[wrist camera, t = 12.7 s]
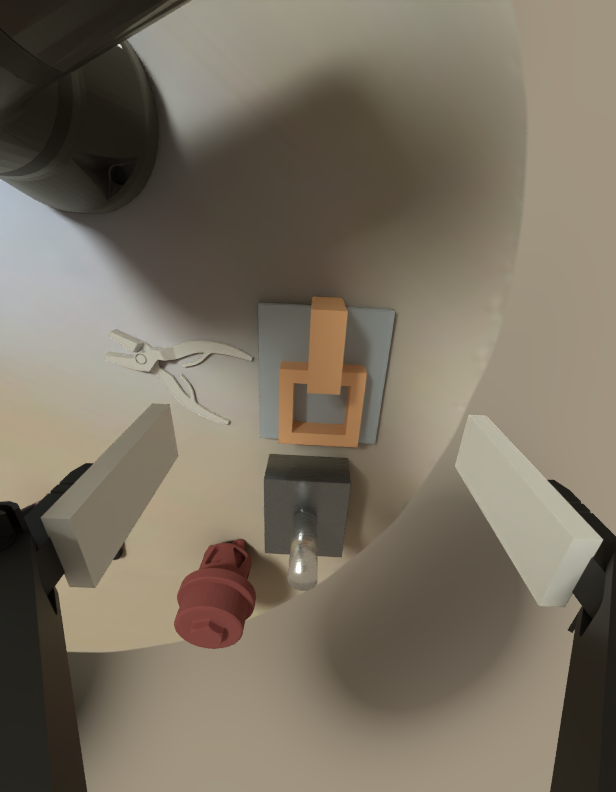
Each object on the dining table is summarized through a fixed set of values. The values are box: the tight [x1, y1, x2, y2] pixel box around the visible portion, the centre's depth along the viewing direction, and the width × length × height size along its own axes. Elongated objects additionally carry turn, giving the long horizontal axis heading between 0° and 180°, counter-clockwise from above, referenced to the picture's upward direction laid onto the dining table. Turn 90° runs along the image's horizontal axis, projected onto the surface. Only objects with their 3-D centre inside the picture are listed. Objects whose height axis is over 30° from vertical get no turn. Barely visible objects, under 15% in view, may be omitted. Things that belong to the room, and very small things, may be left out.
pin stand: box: [264, 454, 351, 591], centre depth 40 cm, size 12×10×13 cm
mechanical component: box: [174, 539, 256, 649], centre depth 45 cm, size 12×10×10 cm
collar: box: [279, 296, 367, 447], centre depth 34 cm, size 16×9×7 cm, turn 177°
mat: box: [258, 302, 395, 444], centre depth 38 cm, size 16×14×1 cm
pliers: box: [104, 329, 253, 425], centre depth 38 cm, size 10×2×15 cm
